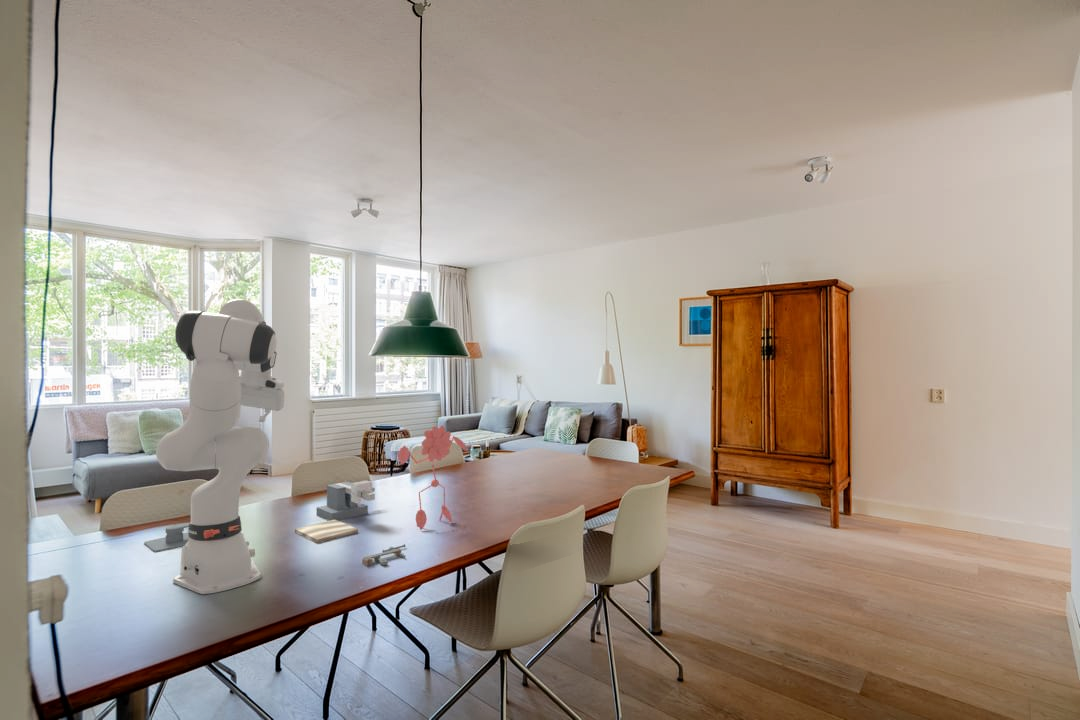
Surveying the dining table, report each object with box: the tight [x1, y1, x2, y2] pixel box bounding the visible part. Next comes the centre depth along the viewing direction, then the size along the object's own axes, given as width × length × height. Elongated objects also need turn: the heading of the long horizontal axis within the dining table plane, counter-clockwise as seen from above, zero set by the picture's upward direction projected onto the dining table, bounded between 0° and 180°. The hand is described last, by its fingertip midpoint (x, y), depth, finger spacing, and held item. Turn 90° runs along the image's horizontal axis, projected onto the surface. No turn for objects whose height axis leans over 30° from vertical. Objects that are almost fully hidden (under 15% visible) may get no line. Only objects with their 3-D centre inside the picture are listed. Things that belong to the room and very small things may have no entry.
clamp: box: [361, 543, 406, 567], centre depth 152 cm, size 15×2×10 cm
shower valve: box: [143, 522, 190, 553], centre depth 167 cm, size 12×6×15 cm
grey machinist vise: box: [316, 481, 376, 521], centre depth 194 cm, size 27×20×11 cm
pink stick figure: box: [397, 425, 469, 535], centre depth 181 cm, size 15×26×35 cm, turn 132°
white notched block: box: [350, 479, 373, 503], centre depth 187 cm, size 4×6×6 cm, turn 138°
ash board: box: [294, 520, 359, 544], centre depth 175 cm, size 16×14×1 cm
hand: (246, 419), depth 177 cm, fingers open, 8 cm apart
